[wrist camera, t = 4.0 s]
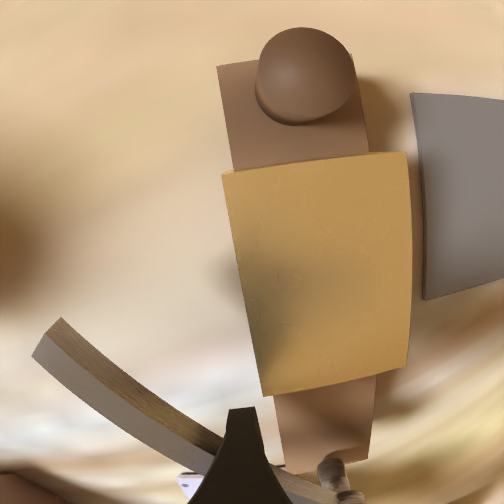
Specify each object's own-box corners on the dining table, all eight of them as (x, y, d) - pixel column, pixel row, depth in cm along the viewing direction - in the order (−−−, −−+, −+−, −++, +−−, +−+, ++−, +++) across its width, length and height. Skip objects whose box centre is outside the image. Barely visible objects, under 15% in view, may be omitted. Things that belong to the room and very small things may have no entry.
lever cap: (383, 335, 12) (406, 365, 10) (260, 359, 12) (263, 396, 10) (375, 152, 10) (406, 152, 8) (226, 171, 10) (221, 174, 8)
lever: (360, 460, 14) (378, 511, 10) (325, 481, 14) (336, 531, 11) (101, 274, 10) (52, 320, 7) (71, 315, 11) (25, 365, 7)
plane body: (354, 423, 17) (380, 493, 12) (282, 438, 17) (292, 513, 12) (329, 73, 12) (380, 28, 6) (222, 85, 12) (208, 38, 7)
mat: (520, 269, 15) (523, 270, 14) (422, 298, 15) (425, 300, 15) (517, 103, 12) (520, 103, 12) (409, 94, 12) (412, 92, 12)
